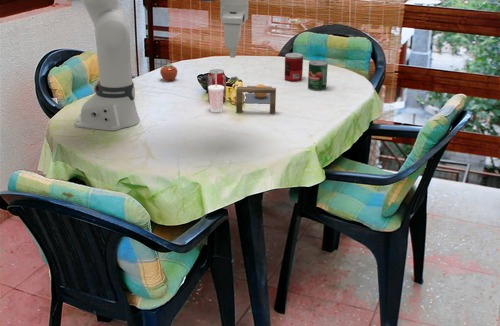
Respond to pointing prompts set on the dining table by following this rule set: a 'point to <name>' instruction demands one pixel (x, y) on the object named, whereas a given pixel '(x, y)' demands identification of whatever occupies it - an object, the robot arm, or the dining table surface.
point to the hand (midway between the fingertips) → (232, 56)
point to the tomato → (168, 72)
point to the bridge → (255, 90)
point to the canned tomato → (317, 75)
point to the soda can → (220, 80)
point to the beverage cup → (216, 96)
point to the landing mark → (257, 99)
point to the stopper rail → (255, 86)
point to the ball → (260, 95)
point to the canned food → (293, 67)
